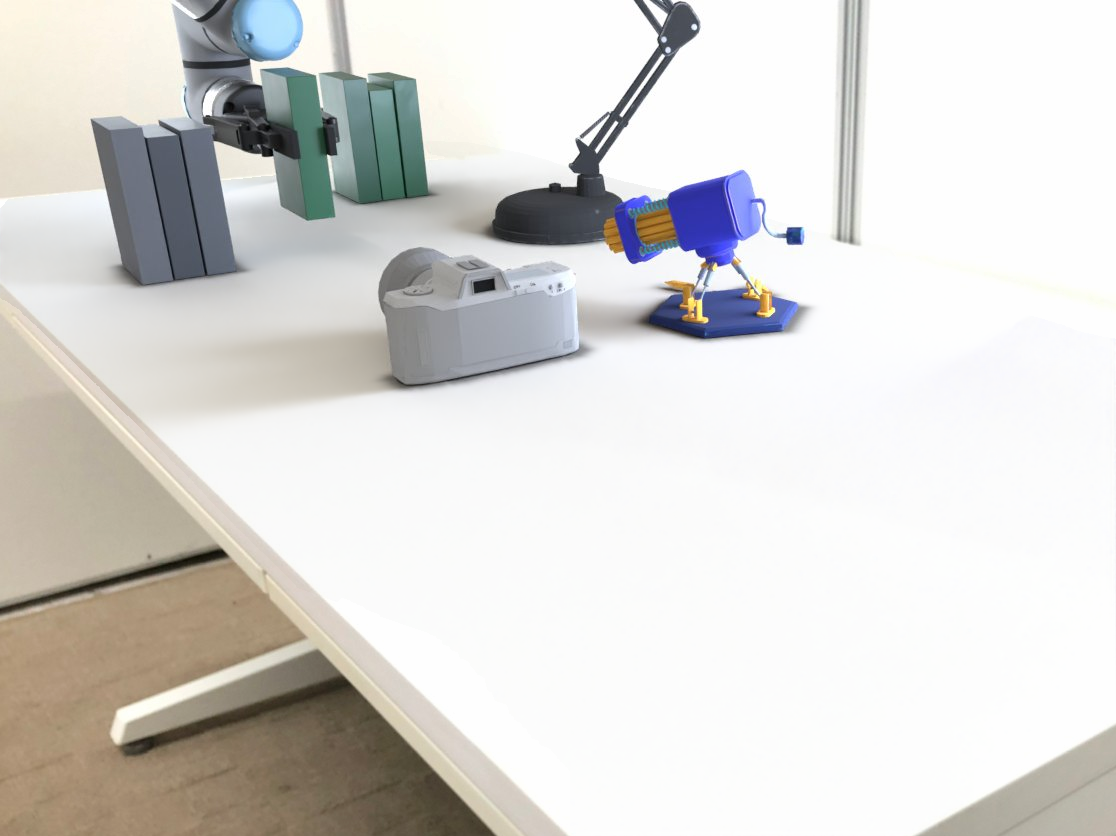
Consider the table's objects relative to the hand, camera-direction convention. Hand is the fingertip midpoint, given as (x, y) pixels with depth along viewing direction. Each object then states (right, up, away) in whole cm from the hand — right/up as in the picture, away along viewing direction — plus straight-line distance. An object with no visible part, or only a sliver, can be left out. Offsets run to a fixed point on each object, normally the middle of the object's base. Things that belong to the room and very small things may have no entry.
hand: (313, 143), depth 131 cm
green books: (-3, +5, +36) cm, 37 cm away
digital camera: (+21, -25, -22) cm, 39 cm away
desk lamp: (+22, -4, +18) cm, 28 cm away
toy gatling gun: (+41, -19, -12) cm, 46 cm away
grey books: (-14, -12, +2) cm, 19 cm away
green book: (-3, -5, +7) cm, 9 cm away
